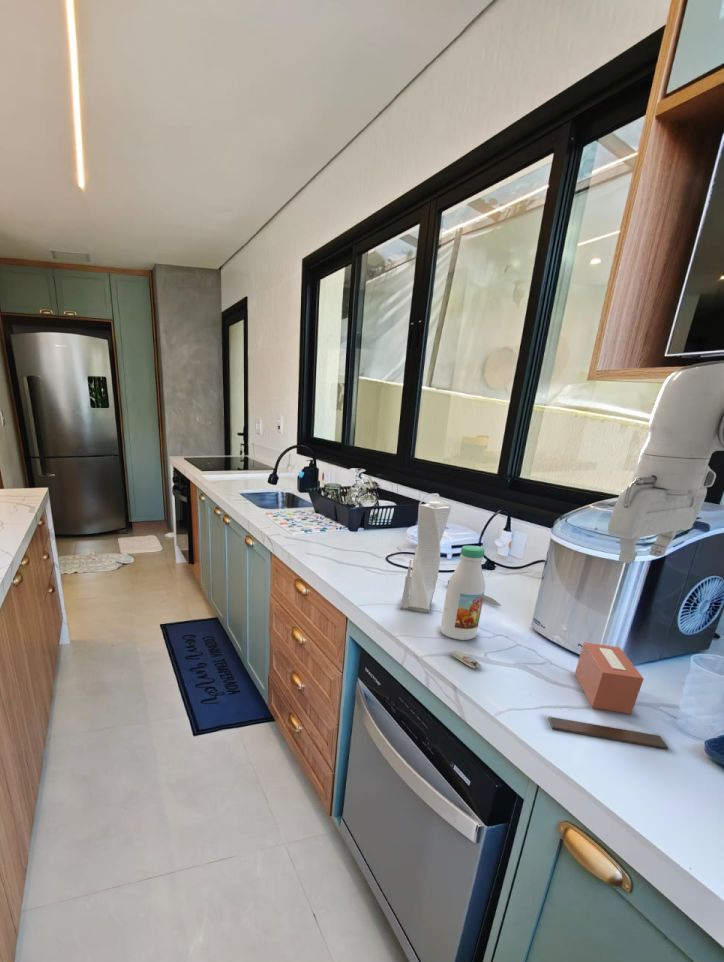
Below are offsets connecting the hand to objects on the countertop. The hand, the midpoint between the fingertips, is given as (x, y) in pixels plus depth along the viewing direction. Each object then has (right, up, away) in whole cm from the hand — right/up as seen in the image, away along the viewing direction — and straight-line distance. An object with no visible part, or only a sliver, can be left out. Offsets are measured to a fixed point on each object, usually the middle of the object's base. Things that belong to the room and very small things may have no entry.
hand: (641, 558), depth 84 cm
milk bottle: (-20, -15, +29) cm, 38 cm away
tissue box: (-2, -24, +7) cm, 25 cm away
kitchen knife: (-8, -6, +51) cm, 52 cm away
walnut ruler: (-9, -28, -5) cm, 30 cm away
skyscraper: (-25, -9, +44) cm, 51 cm away
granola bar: (-24, -19, +16) cm, 35 cm away
